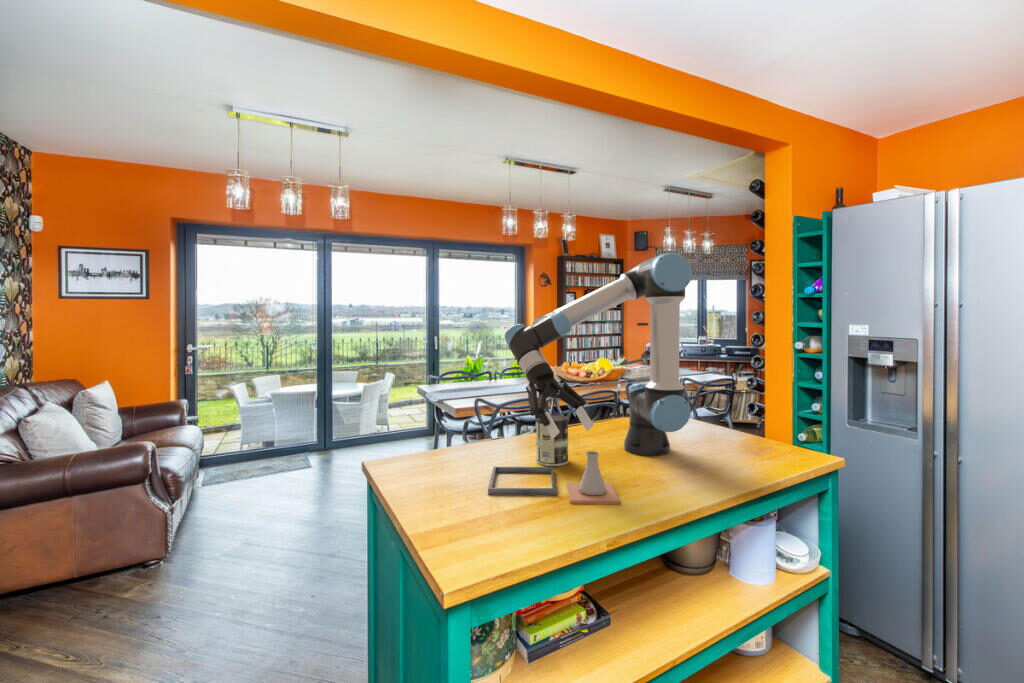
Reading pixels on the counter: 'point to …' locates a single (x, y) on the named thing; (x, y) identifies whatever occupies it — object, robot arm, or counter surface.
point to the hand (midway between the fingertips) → (573, 431)
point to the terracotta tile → (581, 498)
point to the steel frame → (522, 490)
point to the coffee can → (552, 442)
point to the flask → (592, 476)
